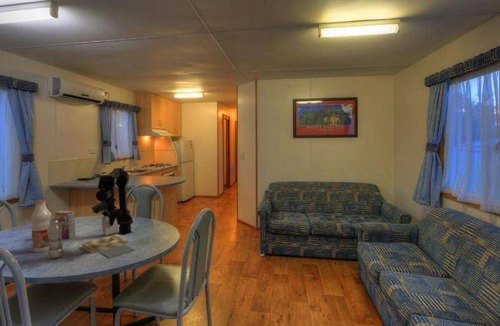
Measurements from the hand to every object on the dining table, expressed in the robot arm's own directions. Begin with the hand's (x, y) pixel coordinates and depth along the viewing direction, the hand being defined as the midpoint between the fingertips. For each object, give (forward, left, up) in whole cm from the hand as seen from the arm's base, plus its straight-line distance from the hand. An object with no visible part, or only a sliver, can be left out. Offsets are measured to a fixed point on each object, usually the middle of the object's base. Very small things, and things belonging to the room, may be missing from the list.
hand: (109, 225), depth 157 cm
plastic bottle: (+24, -10, -14) cm, 29 cm away
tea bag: (0, 0, -4) cm, 4 cm away
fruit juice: (+25, -29, -14) cm, 40 cm away
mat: (0, +7, -13) cm, 15 cm away
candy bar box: (+10, -43, -14) cm, 46 cm away
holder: (0, -8, -13) cm, 16 cm away
